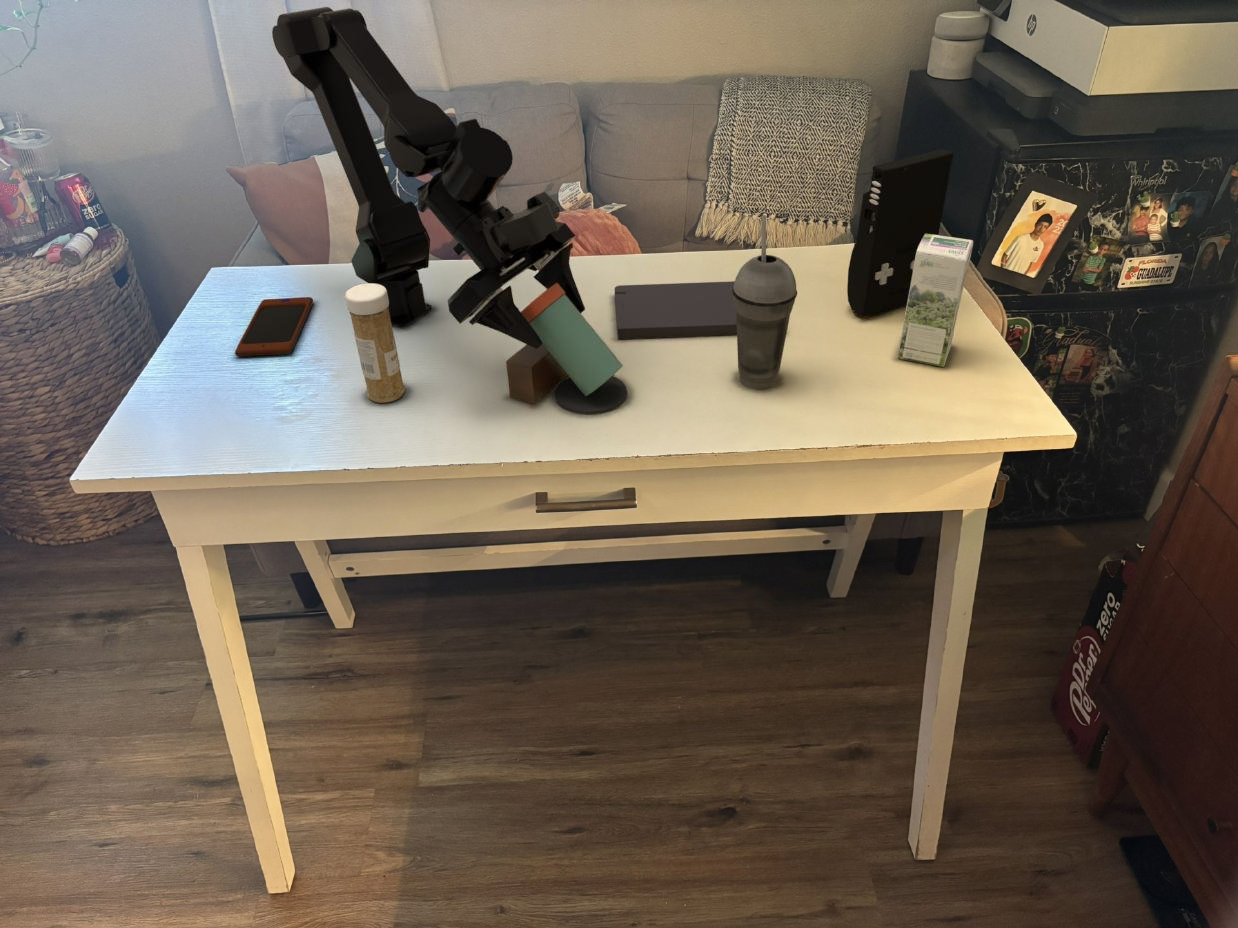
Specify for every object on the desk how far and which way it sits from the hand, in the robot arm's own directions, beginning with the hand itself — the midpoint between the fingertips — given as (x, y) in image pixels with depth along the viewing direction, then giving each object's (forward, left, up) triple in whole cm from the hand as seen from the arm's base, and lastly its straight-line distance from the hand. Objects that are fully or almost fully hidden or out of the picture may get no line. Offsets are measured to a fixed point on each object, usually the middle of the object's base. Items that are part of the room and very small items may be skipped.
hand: (561, 328), depth 106 cm
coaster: (+3, 0, -8) cm, 9 cm away
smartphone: (-42, -5, -8) cm, 43 cm away
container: (+1, 0, -7) cm, 7 cm away
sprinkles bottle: (-18, -11, -8) cm, 23 cm away
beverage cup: (+20, +12, -8) cm, 24 cm away
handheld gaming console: (+28, +38, -8) cm, 48 cm away
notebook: (+6, +24, -8) cm, 26 cm away
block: (-3, 0, -8) cm, 8 cm away
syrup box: (+36, +27, -8) cm, 46 cm away
